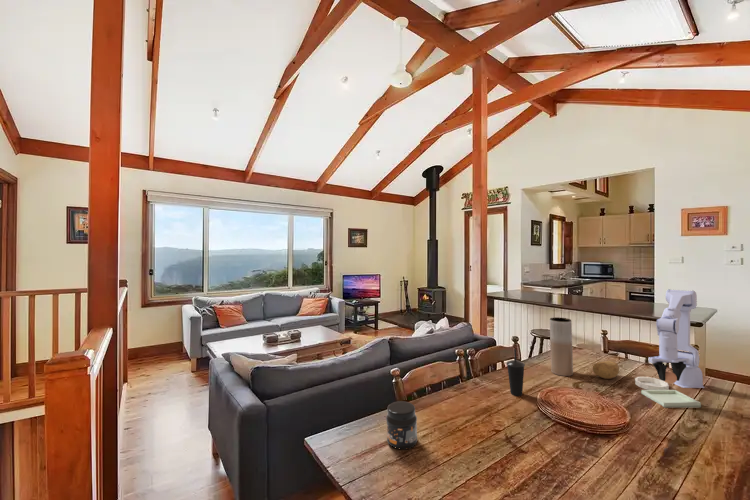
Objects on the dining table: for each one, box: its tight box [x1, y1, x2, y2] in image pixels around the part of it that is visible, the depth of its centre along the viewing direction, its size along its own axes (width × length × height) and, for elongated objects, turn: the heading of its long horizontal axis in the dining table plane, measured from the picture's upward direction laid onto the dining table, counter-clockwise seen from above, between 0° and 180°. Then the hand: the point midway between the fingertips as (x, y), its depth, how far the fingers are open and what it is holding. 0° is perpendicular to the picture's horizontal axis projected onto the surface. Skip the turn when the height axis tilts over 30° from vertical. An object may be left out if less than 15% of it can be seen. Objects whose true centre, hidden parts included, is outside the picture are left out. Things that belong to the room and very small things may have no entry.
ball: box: [664, 370, 677, 385], centre depth 138 cm, size 5×5×5 cm
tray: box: [641, 389, 702, 409], centre depth 138 cm, size 14×12×2 cm
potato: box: [592, 360, 620, 380], centre depth 163 cm, size 10×14×8 cm
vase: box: [549, 316, 574, 377], centre depth 171 cm, size 10×10×28 cm
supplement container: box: [385, 400, 418, 450], centre depth 114 cm, size 10×10×12 cm
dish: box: [634, 376, 670, 390], centre depth 151 cm, size 12×12×2 cm
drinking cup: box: [506, 348, 526, 397], centre depth 148 cm, size 8×8×20 cm
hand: (669, 379), depth 138 cm, fingers closed on ball, 5 cm apart
